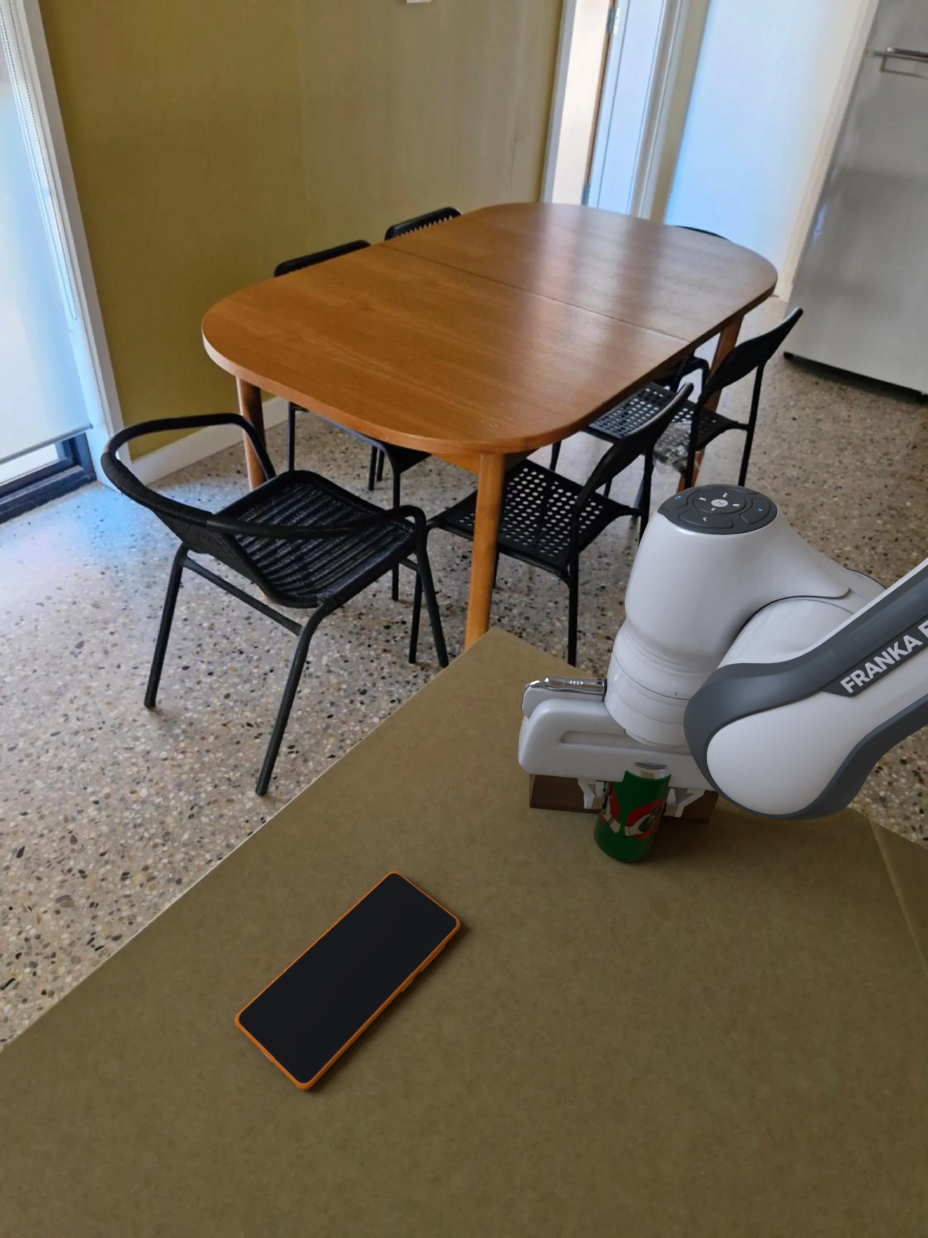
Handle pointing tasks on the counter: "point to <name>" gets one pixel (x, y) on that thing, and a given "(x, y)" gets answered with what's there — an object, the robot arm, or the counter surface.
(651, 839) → the soda can
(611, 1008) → the counter surface
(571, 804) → the brown rectangular block
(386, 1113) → the counter surface
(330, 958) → the smartphone
